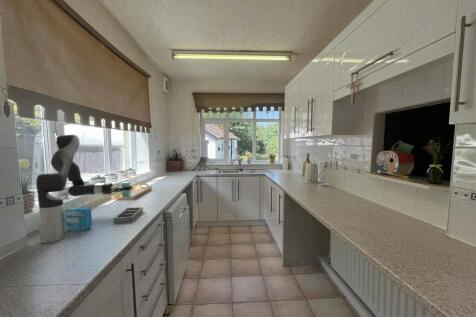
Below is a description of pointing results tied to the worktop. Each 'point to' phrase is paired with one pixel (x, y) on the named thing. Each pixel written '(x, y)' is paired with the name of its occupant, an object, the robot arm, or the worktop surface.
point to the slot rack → (128, 215)
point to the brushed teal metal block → (126, 192)
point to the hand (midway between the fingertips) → (130, 188)
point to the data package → (78, 219)
